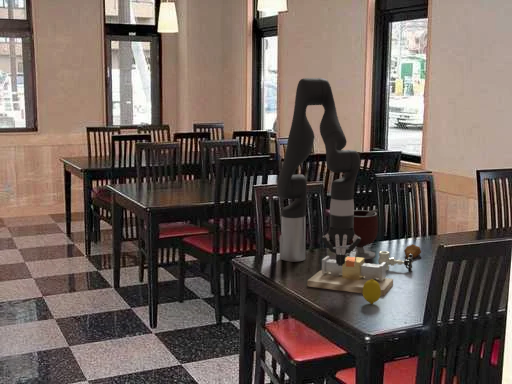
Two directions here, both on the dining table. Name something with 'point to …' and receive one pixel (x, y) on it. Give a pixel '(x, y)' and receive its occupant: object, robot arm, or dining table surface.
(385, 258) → the valve
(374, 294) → the lemon
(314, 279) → the valve board
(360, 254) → the mate gourd
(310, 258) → the dining table surface
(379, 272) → the pipe valve
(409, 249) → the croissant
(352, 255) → the valve lever
